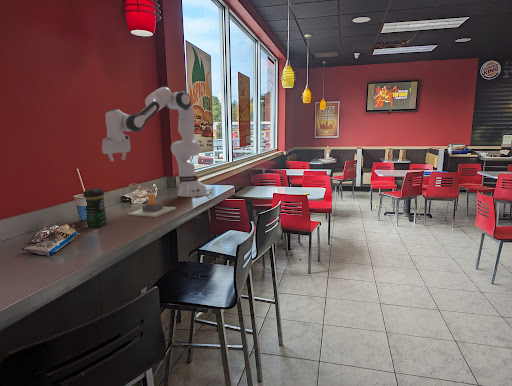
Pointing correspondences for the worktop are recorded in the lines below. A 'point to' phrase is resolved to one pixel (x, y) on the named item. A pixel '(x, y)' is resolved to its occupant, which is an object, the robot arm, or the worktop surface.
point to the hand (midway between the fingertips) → (118, 160)
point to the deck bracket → (152, 210)
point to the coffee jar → (95, 207)
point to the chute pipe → (152, 200)
